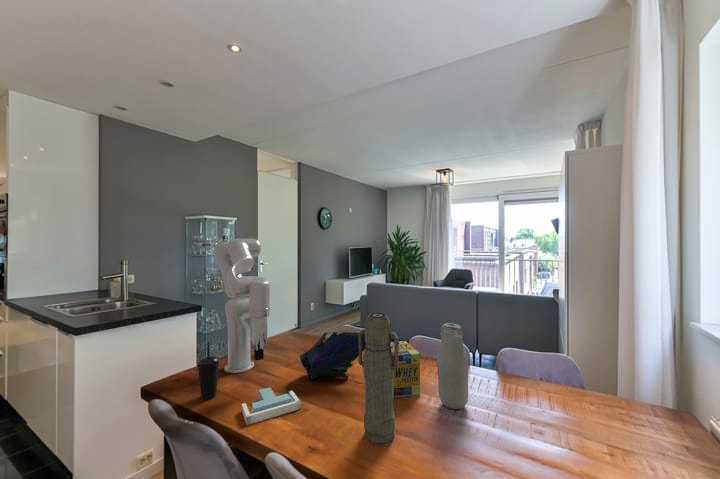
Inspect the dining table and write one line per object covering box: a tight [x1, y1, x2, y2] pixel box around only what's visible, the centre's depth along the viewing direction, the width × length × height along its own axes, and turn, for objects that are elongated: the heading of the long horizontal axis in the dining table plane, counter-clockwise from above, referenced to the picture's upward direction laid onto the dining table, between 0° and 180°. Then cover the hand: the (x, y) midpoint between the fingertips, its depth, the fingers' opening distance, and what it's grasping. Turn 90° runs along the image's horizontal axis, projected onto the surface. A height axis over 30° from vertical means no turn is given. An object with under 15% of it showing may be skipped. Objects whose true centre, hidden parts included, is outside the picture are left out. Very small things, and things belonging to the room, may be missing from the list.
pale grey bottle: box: [436, 322, 469, 410], centre depth 103 cm, size 10×10×28 cm
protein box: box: [391, 340, 421, 400], centre depth 117 cm, size 10×15×16 cm
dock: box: [241, 390, 302, 426], centre depth 103 cm, size 9×17×2 cm, turn 120°
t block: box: [251, 387, 291, 414], centre depth 105 cm, size 12×12×4 cm
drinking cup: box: [196, 341, 221, 401], centre depth 112 cm, size 8×8×20 cm
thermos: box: [358, 312, 400, 447], centre depth 88 cm, size 9×12×35 cm
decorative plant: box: [299, 331, 366, 380], centre depth 129 cm, size 21×26×30 cm
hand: (258, 358), depth 118 cm, fingers closed
